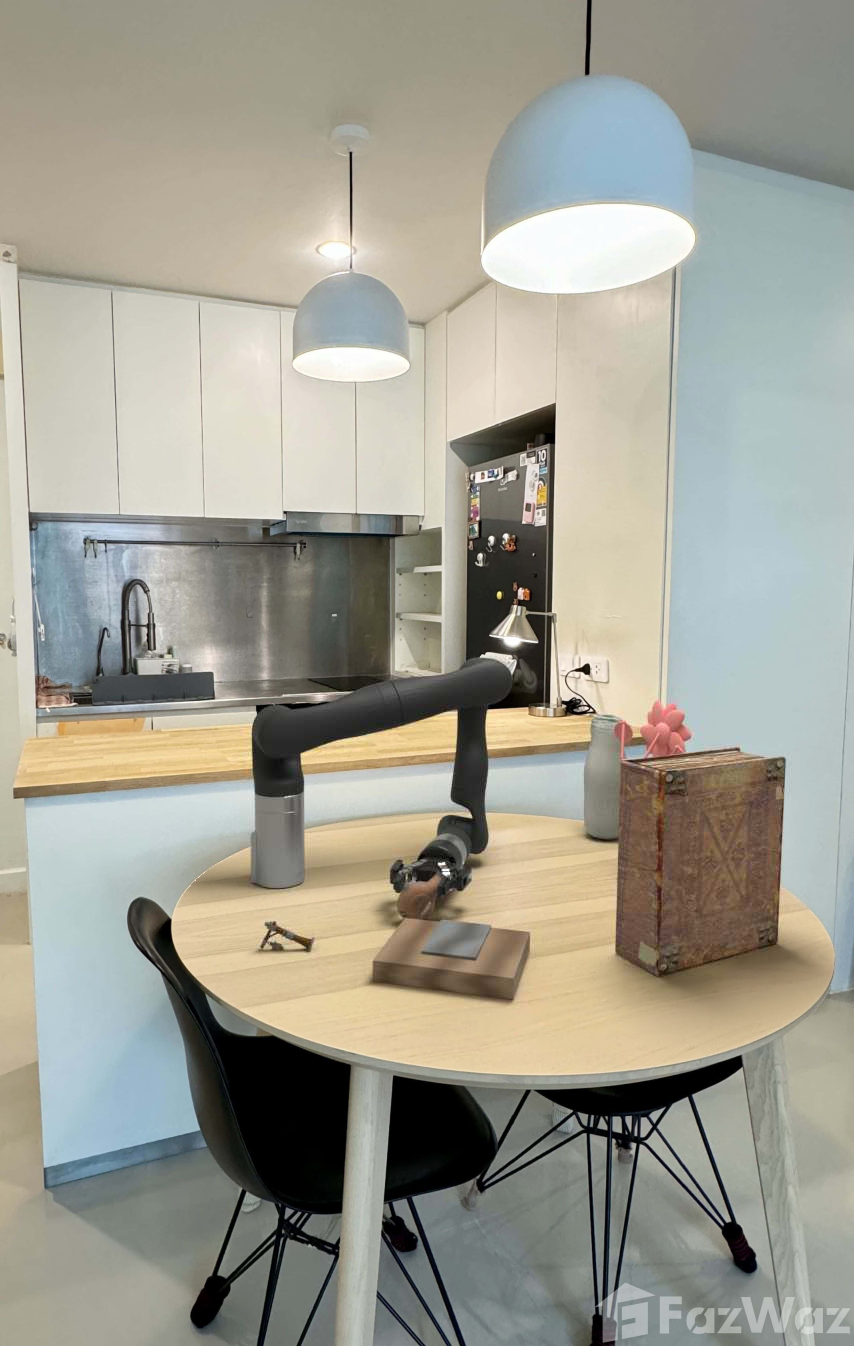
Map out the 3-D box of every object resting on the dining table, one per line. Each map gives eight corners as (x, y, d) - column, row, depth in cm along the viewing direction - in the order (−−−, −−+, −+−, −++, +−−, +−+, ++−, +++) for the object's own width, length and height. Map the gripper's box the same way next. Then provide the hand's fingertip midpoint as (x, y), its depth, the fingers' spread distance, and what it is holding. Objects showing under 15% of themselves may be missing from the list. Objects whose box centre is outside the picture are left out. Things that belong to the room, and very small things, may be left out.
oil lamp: (440, 911, 142) (441, 866, 141) (451, 920, 139) (453, 874, 138) (393, 919, 138) (394, 873, 137) (403, 929, 135) (404, 882, 134)
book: (731, 923, 138) (739, 746, 135) (778, 944, 130) (787, 756, 127) (614, 953, 126) (620, 760, 123) (657, 978, 118) (665, 772, 115)
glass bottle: (623, 832, 191) (627, 712, 188) (629, 845, 181) (633, 718, 178) (580, 830, 192) (583, 711, 189) (584, 843, 182) (587, 717, 179)
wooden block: (372, 980, 117) (372, 957, 116) (404, 935, 132) (404, 915, 132) (513, 999, 112) (513, 975, 111) (529, 950, 127) (530, 929, 127)
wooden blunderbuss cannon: (256, 941, 128) (267, 915, 127) (303, 961, 128) (315, 936, 128) (254, 946, 126) (265, 920, 125) (302, 967, 126) (314, 941, 126)
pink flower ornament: (677, 912, 142) (687, 711, 140) (587, 867, 166) (595, 694, 163) (743, 901, 149) (755, 708, 146) (648, 859, 172) (657, 693, 169)
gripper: (405, 835, 153) (376, 863, 137) (481, 842, 150) (461, 871, 134) (405, 874, 154) (376, 907, 138) (481, 882, 150) (460, 916, 134)
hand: (418, 889), depth 136 cm, fingers closed on oil lamp, 6 cm apart
